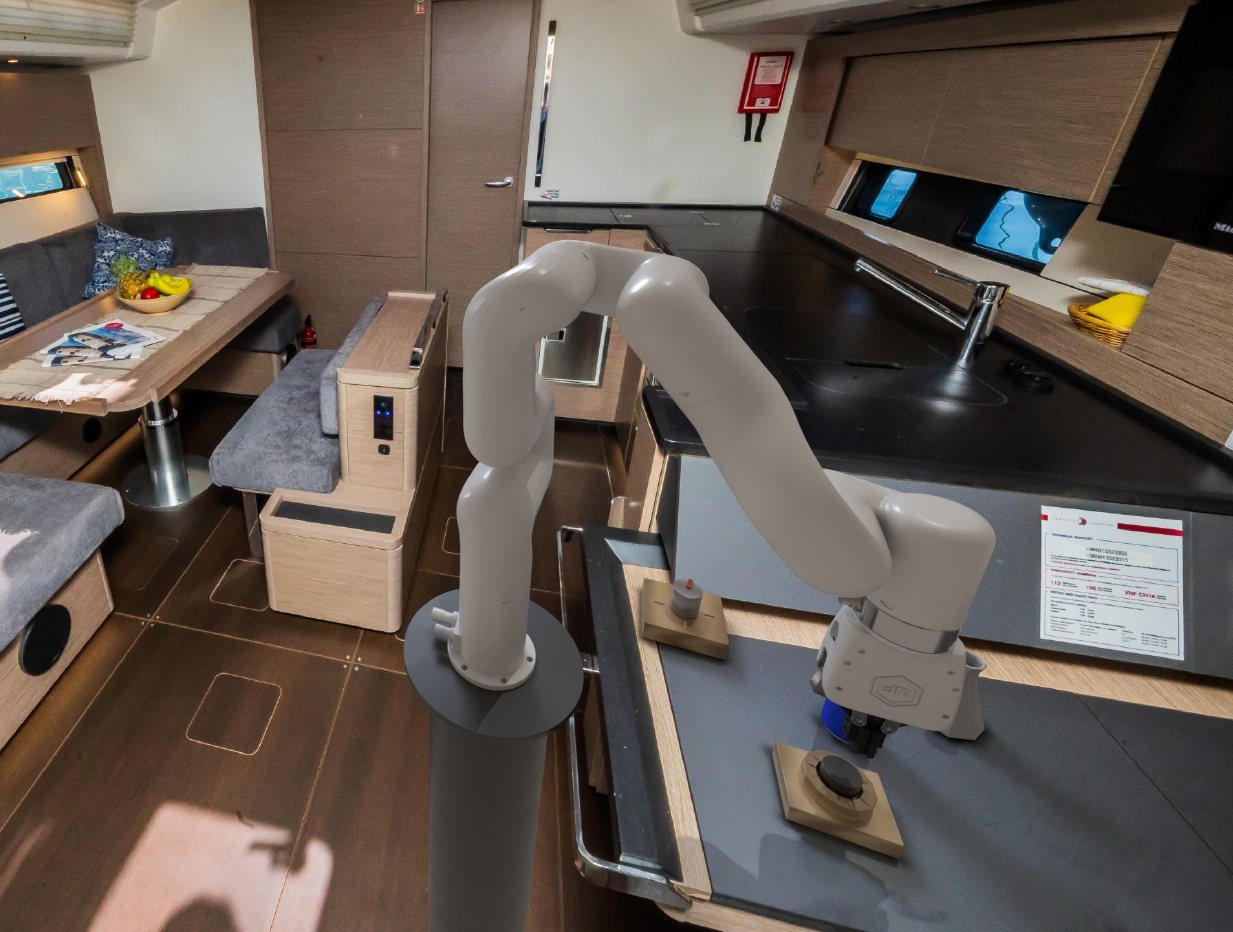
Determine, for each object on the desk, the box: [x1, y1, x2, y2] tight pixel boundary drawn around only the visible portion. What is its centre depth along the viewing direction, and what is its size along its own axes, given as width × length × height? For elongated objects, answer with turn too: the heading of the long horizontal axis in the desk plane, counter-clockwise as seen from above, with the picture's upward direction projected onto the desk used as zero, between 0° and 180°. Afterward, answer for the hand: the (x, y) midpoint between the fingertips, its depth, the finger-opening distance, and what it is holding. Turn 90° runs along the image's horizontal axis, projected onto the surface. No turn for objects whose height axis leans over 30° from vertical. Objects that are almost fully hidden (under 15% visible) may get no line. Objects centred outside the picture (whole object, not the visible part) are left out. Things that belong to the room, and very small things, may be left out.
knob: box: [669, 578, 704, 619], centre depth 90 cm, size 4×4×4 cm
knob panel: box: [641, 577, 730, 661], centre depth 91 cm, size 11×10×3 cm
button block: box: [771, 741, 905, 860], centre depth 67 cm, size 10×8×4 cm
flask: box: [939, 649, 988, 741], centre depth 75 cm, size 7×7×10 cm
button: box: [819, 755, 863, 798], centre depth 66 cm, size 4×4×2 cm
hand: (858, 744), depth 64 cm, fingers closed
